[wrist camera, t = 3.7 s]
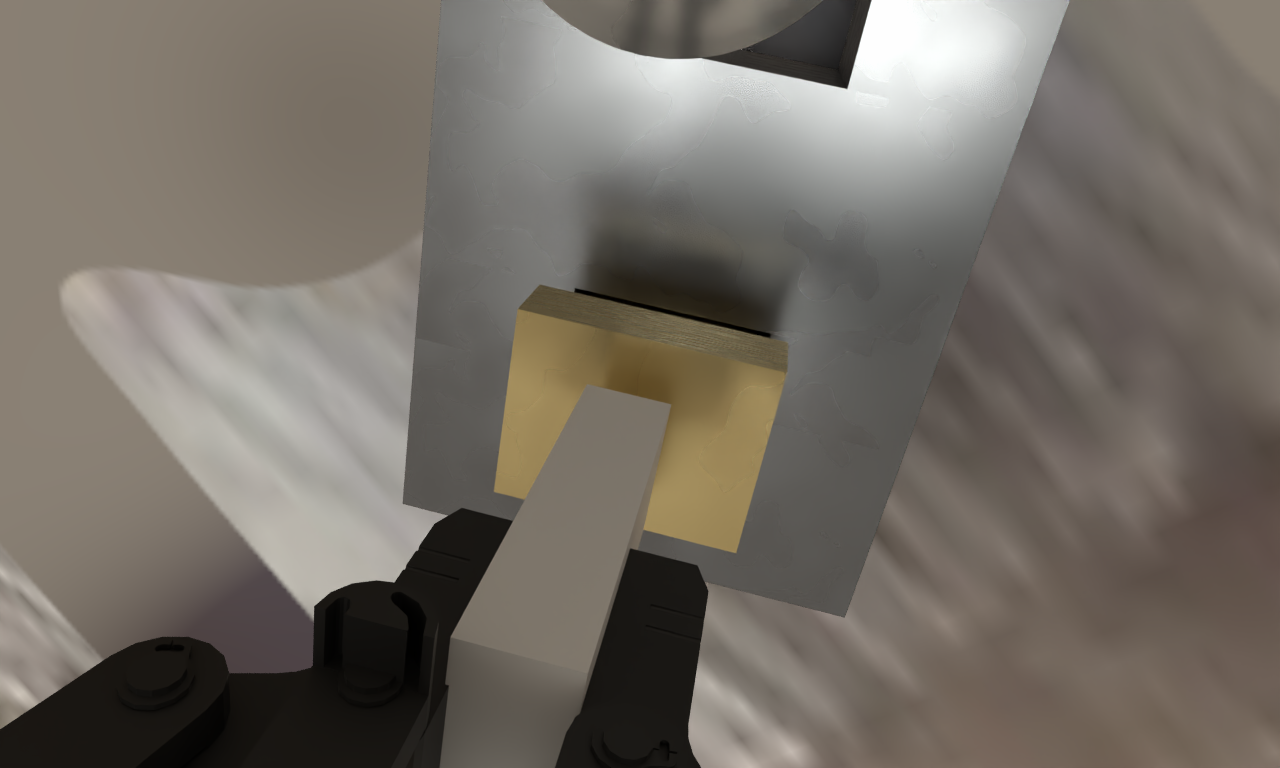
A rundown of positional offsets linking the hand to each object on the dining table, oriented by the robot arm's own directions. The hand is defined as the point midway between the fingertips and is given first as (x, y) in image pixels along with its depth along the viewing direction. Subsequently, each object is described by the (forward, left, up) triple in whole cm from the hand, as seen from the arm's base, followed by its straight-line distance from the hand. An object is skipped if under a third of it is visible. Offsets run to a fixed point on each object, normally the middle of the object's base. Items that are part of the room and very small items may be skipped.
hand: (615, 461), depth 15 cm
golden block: (0, 0, -7) cm, 7 cm away
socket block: (+4, 0, -10) cm, 11 cm away
